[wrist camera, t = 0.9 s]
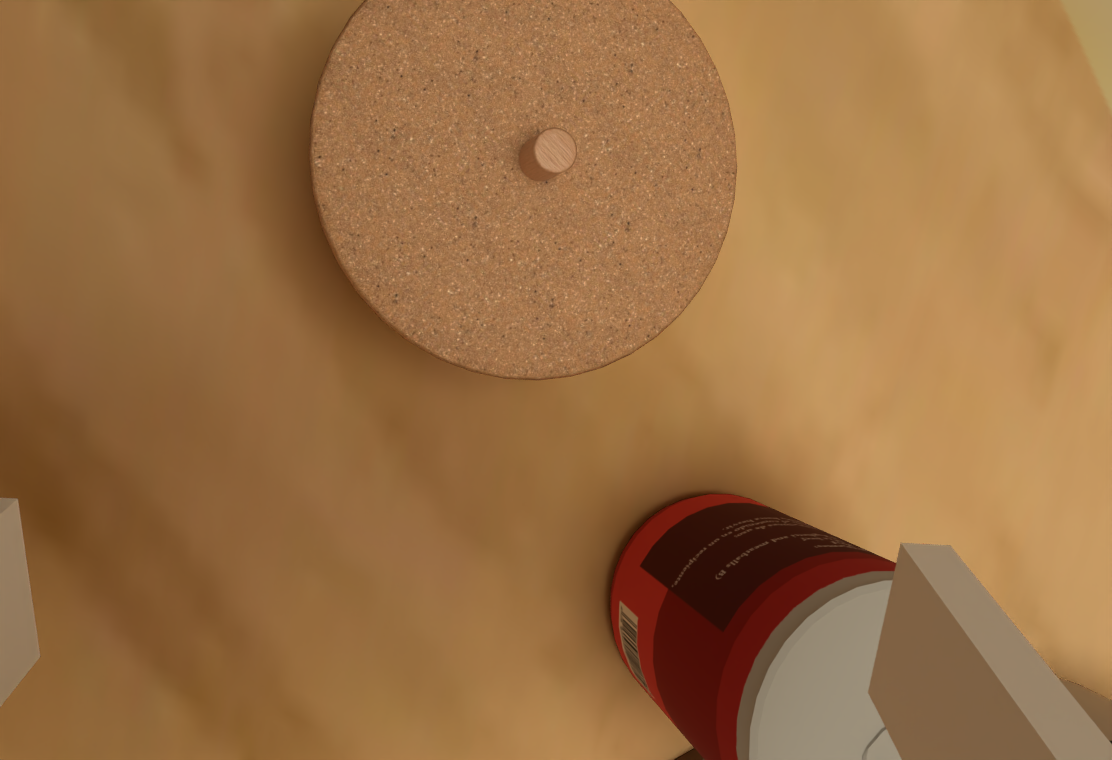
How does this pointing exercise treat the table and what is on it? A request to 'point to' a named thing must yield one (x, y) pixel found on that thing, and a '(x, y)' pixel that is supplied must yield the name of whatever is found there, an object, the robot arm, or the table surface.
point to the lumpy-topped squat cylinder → (1093, 706)
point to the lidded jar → (523, 175)
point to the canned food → (754, 631)
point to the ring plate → (691, 756)
